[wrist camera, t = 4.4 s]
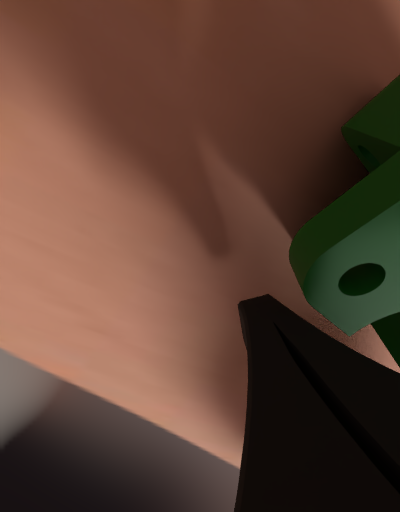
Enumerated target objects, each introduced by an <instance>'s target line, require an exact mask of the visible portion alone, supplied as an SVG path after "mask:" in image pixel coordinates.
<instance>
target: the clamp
mask: <svg viewBox="0 0 400 512" xmlns="http://www.w3.org/2000/svg"><path fill="white" fill-rule="evenodd" d="M341 131H342V134H343V136H344V138H345V140H346V142H347V143H348V145H349V146H350V147H351V149H352V150H353V151H354V153H355V154H356V155H357V157H358V158H359V159H360V161H361V162H362V164H363V165H364V166H365V168H366V169H367V170H368V172H369V173H370V174H369V175H367V176H366V177H365V178H364V179H362V180H361V181H360V182H358V183H357V184H356V185H354V186H353V187H352V188H351V189H349V190H348V191H347V192H345V193H344V194H343V195H342V196H340V197H339V198H338V199H336V200H335V201H334V202H332V203H331V204H330V205H329V206H327V207H326V208H325V209H323V210H322V211H321V212H320V213H318V214H317V215H316V216H314V217H313V218H312V219H310V220H309V221H308V222H307V223H306V224H305V225H304V226H303V227H302V228H301V229H300V230H299V231H298V232H297V234H296V235H295V237H294V239H293V241H292V243H291V246H290V250H289V260H290V264H291V266H292V269H293V271H294V273H295V276H296V278H297V280H298V282H299V285H300V287H301V289H302V291H303V294H304V296H305V298H306V300H307V302H308V303H309V304H310V305H311V306H312V307H313V308H314V309H316V310H317V311H318V312H319V313H321V314H322V315H323V316H324V317H326V318H327V319H328V320H329V321H331V322H332V323H333V324H334V325H336V326H337V327H338V328H339V329H341V330H342V331H343V332H344V333H346V334H347V335H348V336H349V337H350V336H351V335H353V334H354V333H355V332H357V331H358V330H360V329H361V328H363V327H365V326H367V325H368V324H370V323H371V325H372V326H373V328H374V329H375V331H376V332H377V334H378V335H379V337H380V339H381V340H382V342H383V343H384V345H385V346H386V348H387V349H388V351H389V352H390V354H391V355H392V357H393V358H394V360H395V361H396V363H397V364H398V366H399V367H400V75H399V76H398V77H396V78H395V79H394V80H393V81H392V82H391V83H390V84H389V85H388V86H386V87H385V88H384V89H383V90H382V91H381V92H380V93H379V94H378V95H377V96H375V97H374V98H373V99H372V100H371V101H370V102H369V103H368V104H367V105H366V106H364V107H363V108H362V109H361V110H360V111H359V112H358V113H357V114H356V115H355V116H353V117H352V118H351V119H350V120H349V121H348V122H347V123H346V124H345V125H344V126H342V128H341Z"/></svg>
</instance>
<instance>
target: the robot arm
mask: <svg viewBox="0 0 400 512" xmlns="http://www.w3.org/2000/svg"><path fill="white" fill-rule="evenodd" d="M238 310H239V316H240V321H241V327H242V333H243V339H244V342H245V346H246V349H247V355H248V393H247V410H246V424H245V435H244V444H243V452H242V460H241V468H240V476H239V483H238V490H237V497H236V503H235V508H234V512H400V373H398V372H396V371H394V370H392V369H389V368H387V367H385V366H383V365H381V364H379V363H377V362H375V361H374V360H372V359H370V358H368V357H366V356H364V355H362V354H360V353H358V352H356V351H354V350H353V349H351V348H349V347H347V346H346V345H344V344H342V343H340V342H339V341H337V340H335V339H334V338H332V337H330V336H329V335H327V334H326V333H324V332H322V331H321V330H319V329H318V328H316V327H315V326H313V325H312V324H310V323H309V322H307V321H306V320H304V319H303V318H301V317H300V316H298V315H297V314H295V313H294V312H293V311H291V310H290V309H288V308H287V307H286V306H284V305H283V304H281V303H280V302H279V301H277V300H276V299H275V298H273V297H272V296H270V295H269V294H267V295H263V296H259V297H255V298H252V299H248V300H244V301H240V302H239V304H238Z"/></svg>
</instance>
